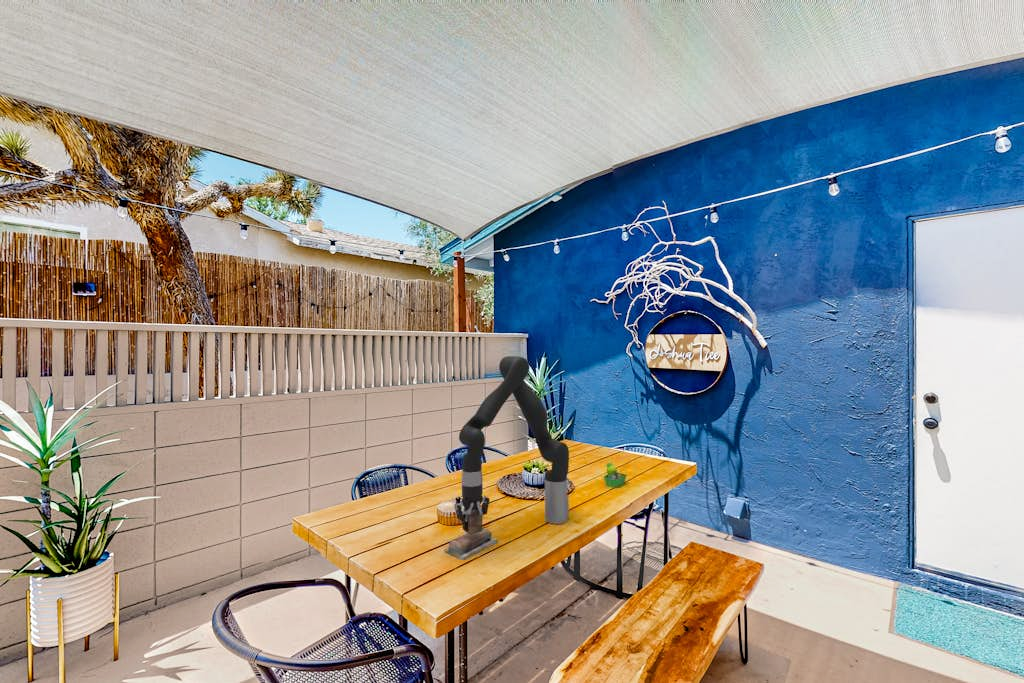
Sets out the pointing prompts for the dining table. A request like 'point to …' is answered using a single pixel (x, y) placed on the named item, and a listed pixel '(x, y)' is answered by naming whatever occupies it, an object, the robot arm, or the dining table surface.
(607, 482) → the potted cactus
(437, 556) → the dining table surface
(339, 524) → the dining table surface
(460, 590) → the dining table surface
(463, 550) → the packaged product
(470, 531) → the walnut block
